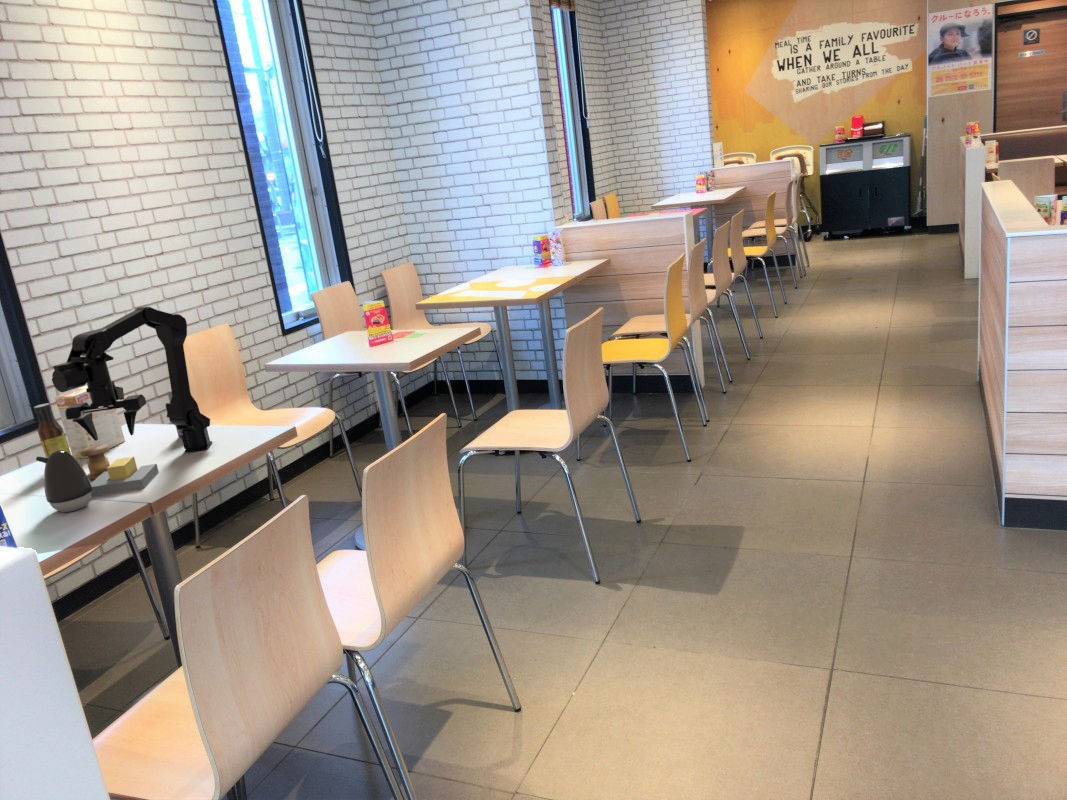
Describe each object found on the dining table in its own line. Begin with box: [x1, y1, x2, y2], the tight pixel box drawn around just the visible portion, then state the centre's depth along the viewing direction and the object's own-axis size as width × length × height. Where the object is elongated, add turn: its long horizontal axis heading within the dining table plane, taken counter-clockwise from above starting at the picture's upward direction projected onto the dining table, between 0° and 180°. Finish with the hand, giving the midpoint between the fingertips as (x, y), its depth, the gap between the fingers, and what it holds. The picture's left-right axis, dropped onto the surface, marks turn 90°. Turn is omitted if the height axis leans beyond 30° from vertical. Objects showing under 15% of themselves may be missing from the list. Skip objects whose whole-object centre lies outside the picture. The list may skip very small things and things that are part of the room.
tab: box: [107, 456, 138, 481], centre depth 223 cm, size 7×4×6 cm, turn 6°
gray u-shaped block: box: [90, 463, 160, 497], centre depth 222 cm, size 14×12×2 cm
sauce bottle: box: [33, 402, 72, 458], centre depth 239 cm, size 6×6×20 cm
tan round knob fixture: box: [80, 444, 111, 482], centre depth 231 cm, size 7×7×8 cm
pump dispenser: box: [35, 450, 92, 513], centre depth 208 cm, size 10×10×15 cm
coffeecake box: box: [54, 384, 126, 460], centre depth 256 cm, size 15×7×20 cm, turn 164°
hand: (114, 437), depth 223 cm, fingers open, 9 cm apart
